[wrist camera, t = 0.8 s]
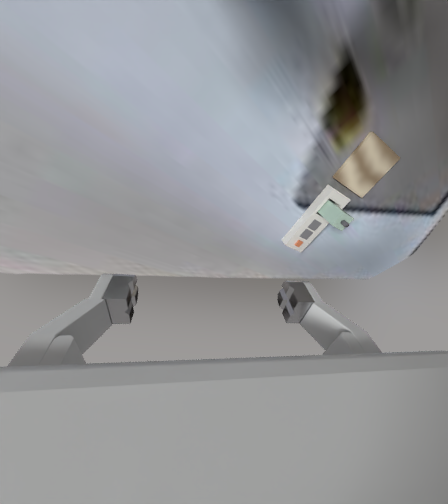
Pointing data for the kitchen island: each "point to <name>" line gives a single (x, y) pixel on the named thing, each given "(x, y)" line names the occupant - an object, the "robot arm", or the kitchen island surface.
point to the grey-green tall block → (335, 215)
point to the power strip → (312, 220)
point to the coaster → (366, 165)
